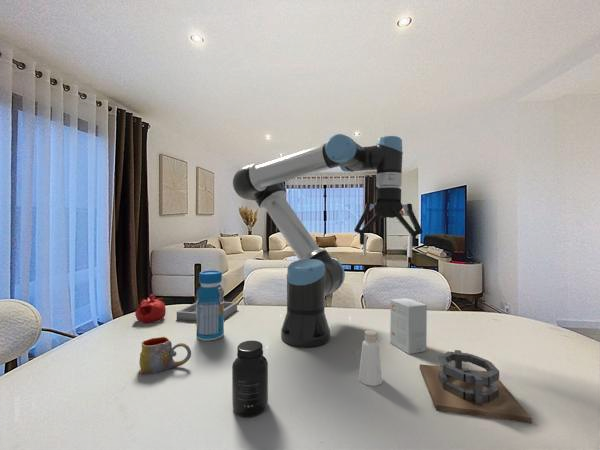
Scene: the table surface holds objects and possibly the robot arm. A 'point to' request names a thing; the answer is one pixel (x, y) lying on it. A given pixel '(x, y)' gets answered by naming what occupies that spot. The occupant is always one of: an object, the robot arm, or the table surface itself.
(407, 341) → the small box
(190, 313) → the parts tray
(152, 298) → the pomegranate
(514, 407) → the collar base
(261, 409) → the supplement bottle
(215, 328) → the beverage bottle
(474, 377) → the collar frame
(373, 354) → the pepper shaker
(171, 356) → the mug
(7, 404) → the table surface
